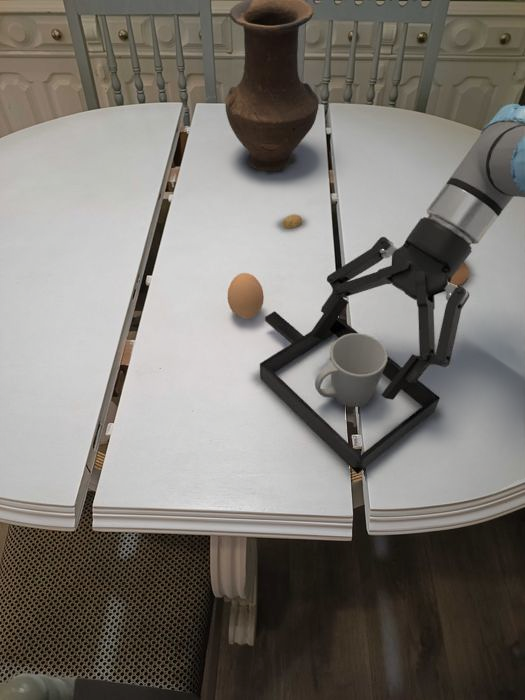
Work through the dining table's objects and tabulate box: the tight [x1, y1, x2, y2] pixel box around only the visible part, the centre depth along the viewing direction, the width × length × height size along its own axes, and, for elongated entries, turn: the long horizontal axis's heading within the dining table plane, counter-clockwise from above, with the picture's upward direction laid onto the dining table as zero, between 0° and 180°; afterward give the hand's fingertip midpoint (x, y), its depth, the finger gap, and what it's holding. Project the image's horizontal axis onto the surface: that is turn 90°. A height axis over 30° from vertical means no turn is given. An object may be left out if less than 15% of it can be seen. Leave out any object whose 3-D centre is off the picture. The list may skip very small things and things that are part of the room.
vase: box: [225, 0, 320, 172], centre depth 108 cm, size 19×19×30 cm
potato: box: [282, 214, 303, 229], centre depth 103 cm, size 3×4×2 cm, turn 117°
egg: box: [227, 272, 265, 319], centre depth 85 cm, size 6×6×8 cm
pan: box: [259, 311, 441, 474], centre depth 77 cm, size 27×15×4 cm, turn 39°
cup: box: [314, 332, 389, 408], centre depth 73 cm, size 8×10×8 cm
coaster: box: [450, 261, 470, 287], centre depth 94 cm, size 10×10×1 cm
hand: (349, 365), depth 72 cm, fingers open, 13 cm apart
